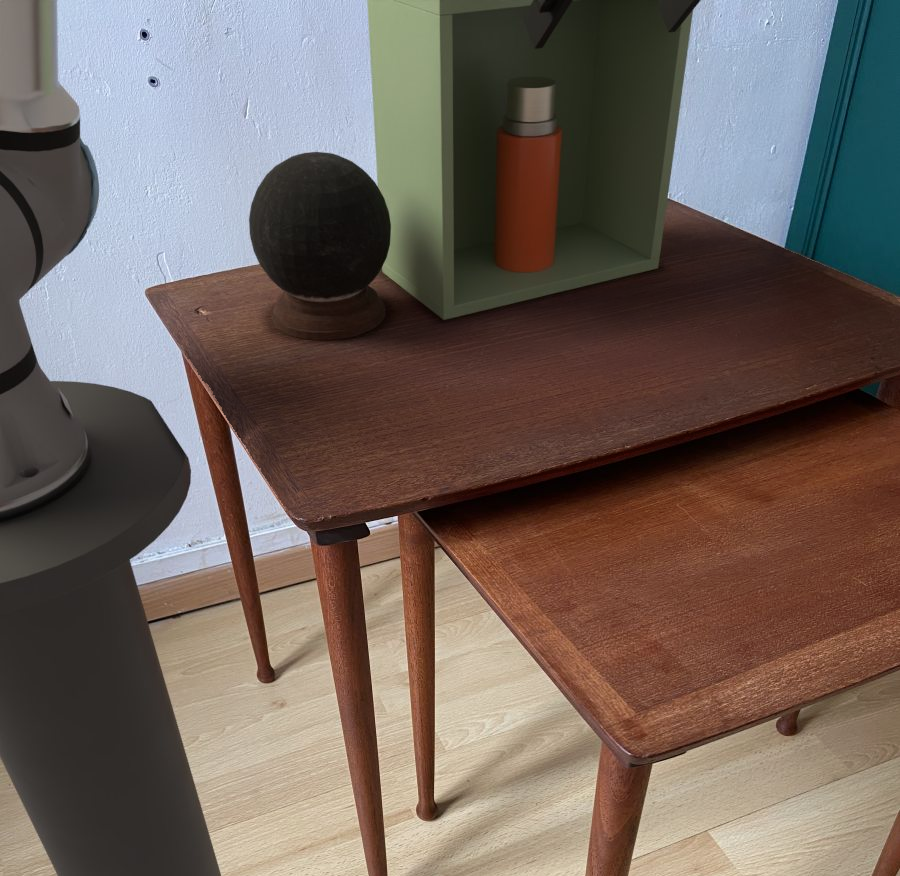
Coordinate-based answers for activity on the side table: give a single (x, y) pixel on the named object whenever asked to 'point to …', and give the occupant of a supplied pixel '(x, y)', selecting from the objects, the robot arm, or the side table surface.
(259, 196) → the black ball on stand
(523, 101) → the spray can
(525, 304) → the side table surface
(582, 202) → the cupboard
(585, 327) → the side table surface
